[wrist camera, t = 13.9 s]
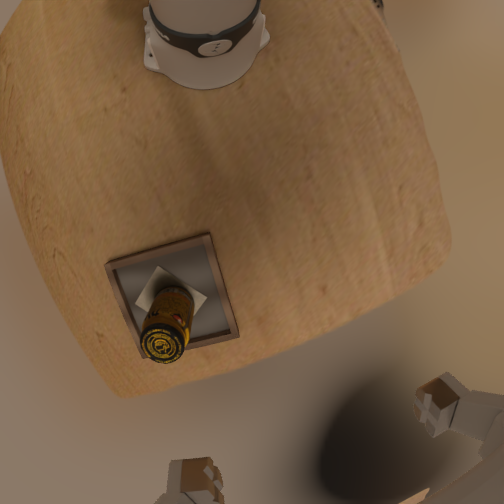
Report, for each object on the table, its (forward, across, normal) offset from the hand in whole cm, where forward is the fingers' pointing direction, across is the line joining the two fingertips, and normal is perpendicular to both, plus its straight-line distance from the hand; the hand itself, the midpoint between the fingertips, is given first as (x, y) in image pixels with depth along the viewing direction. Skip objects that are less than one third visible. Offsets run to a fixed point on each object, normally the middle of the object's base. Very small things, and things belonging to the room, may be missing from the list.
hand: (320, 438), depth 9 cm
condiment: (+34, +12, +5) cm, 36 cm away
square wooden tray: (+34, +12, +5) cm, 36 cm away
